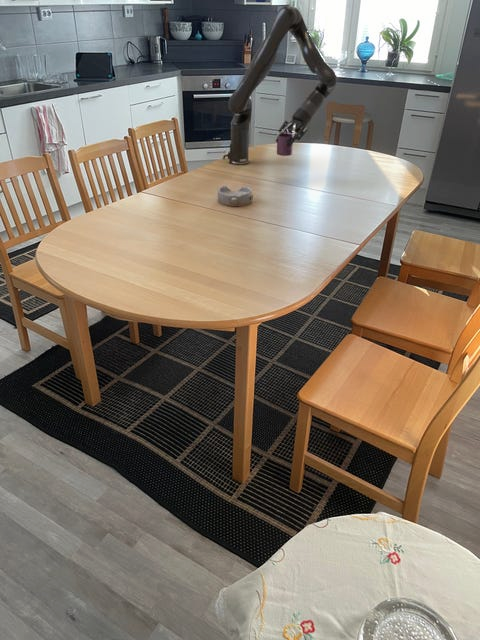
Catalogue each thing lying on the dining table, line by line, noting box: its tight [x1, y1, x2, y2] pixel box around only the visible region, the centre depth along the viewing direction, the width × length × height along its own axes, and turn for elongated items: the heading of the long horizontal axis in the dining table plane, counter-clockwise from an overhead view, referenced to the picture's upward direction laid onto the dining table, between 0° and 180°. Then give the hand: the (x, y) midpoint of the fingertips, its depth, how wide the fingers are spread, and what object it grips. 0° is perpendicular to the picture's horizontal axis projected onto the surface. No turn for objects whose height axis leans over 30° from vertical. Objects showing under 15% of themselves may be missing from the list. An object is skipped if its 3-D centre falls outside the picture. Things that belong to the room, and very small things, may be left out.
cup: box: [276, 133, 294, 157], centre depth 218 cm, size 7×7×8 cm
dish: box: [216, 185, 254, 207], centre depth 203 cm, size 14×14×5 cm
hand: (282, 144), depth 217 cm, fingers closed on cup, 7 cm apart
